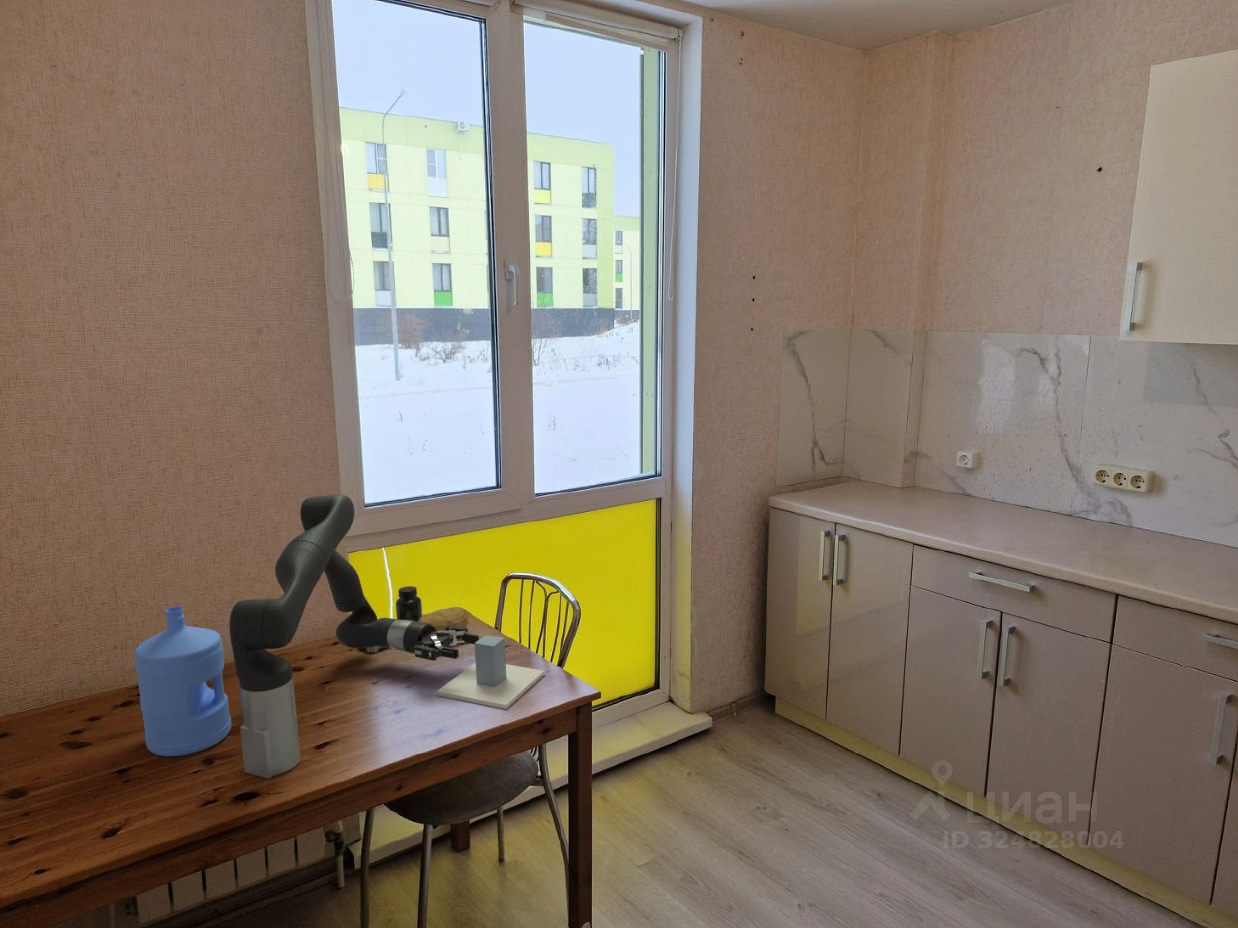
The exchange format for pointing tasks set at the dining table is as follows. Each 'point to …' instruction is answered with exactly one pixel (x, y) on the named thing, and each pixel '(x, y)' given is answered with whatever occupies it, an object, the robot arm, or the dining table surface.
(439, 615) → the potato
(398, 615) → the supplement bottle
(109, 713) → the dining table surface
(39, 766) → the dining table surface
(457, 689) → the cream tile
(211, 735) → the water jug
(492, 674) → the slate block
